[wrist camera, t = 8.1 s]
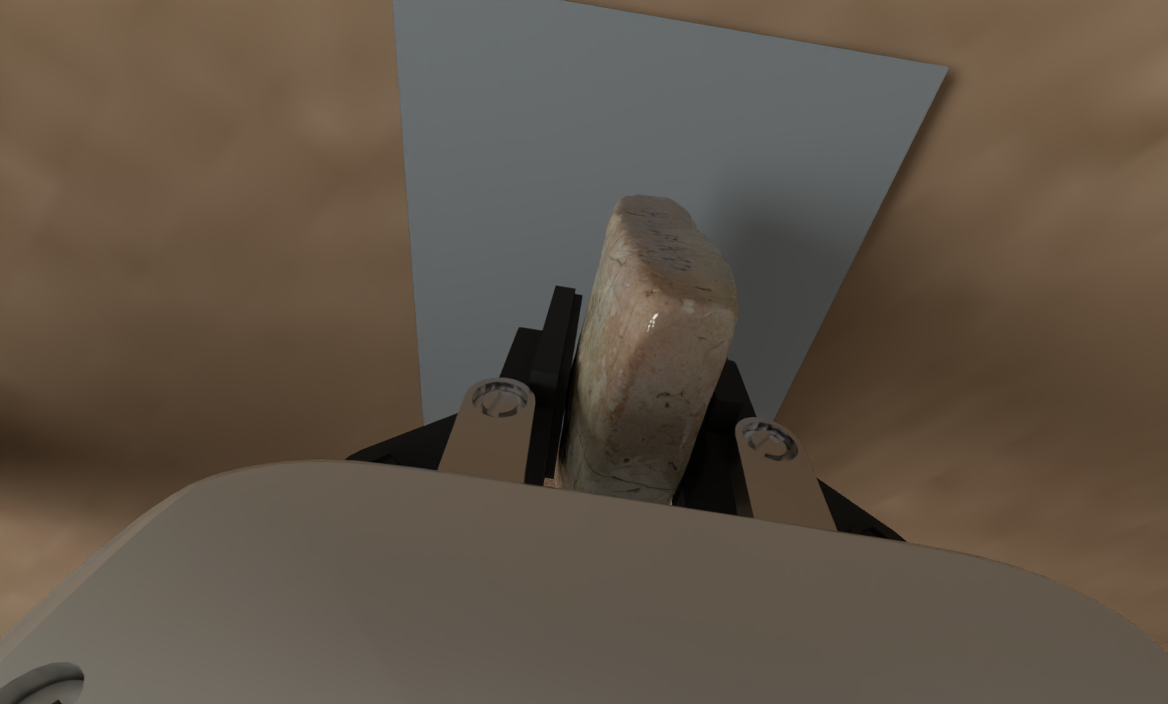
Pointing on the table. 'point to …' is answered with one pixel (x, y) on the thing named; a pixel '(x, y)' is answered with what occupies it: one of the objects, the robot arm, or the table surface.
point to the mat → (633, 169)
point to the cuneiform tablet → (646, 354)
